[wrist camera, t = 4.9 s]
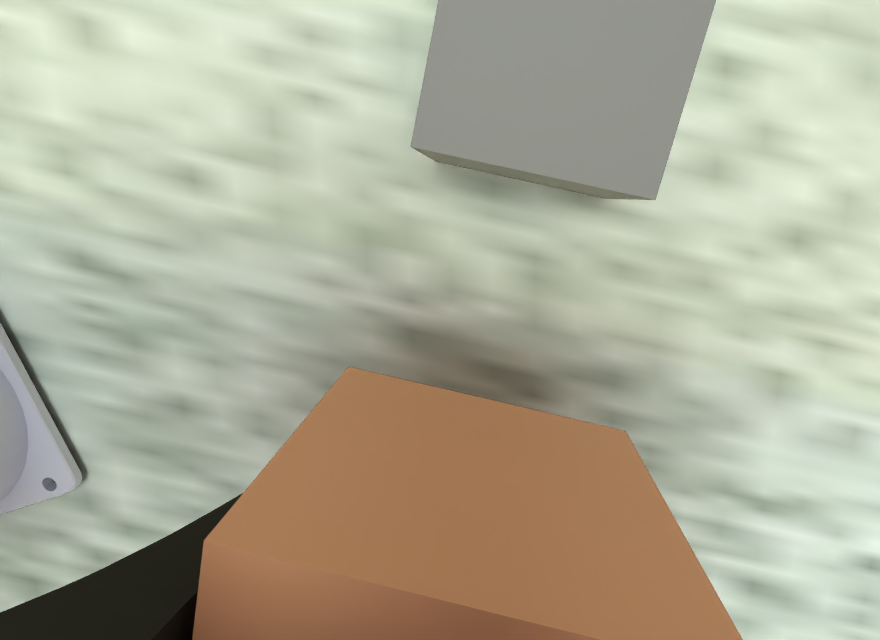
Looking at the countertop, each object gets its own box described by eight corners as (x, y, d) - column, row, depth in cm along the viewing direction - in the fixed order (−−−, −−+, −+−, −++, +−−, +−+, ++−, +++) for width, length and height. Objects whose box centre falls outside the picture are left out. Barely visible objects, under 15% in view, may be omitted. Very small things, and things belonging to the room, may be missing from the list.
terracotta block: (552, 659, 11) (603, 1047, 6) (308, 597, 11) (159, 923, 6) (625, 431, 9) (765, 681, 5) (348, 366, 10) (204, 540, 5)
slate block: (604, 198, 16) (655, 199, 11) (436, 161, 16) (410, 146, 11) (657, 10, 14) (741, -85, 10) (474, -27, 15) (464, -138, 10)
